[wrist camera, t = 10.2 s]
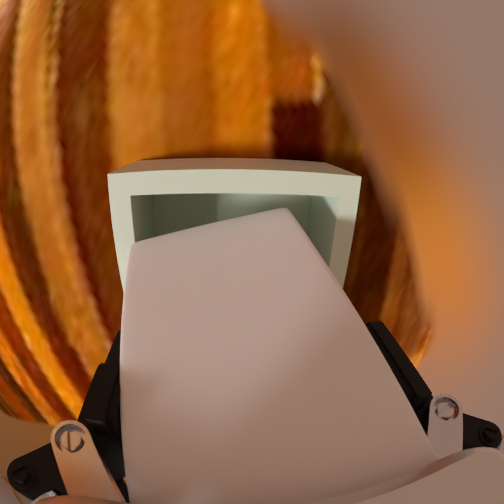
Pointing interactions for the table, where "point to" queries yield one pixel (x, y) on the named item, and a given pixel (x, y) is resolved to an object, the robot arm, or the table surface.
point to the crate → (233, 200)
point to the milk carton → (253, 373)
